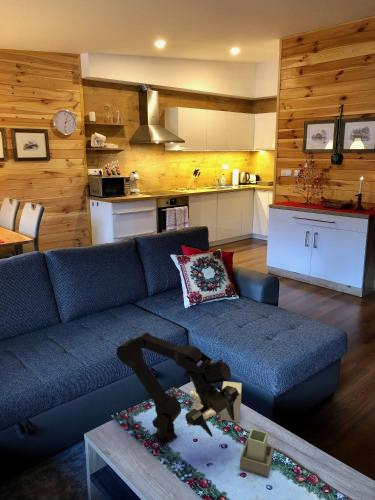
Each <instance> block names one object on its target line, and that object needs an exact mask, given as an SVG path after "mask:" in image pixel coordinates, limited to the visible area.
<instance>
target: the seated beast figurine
mask: <svg viewBox="0 0 375 500" xmlns="http://www.w3.org/2000/svg"><path fill="white" fill-rule="evenodd" d="M195 390H196V389H195V388H194V390H190V395H191V398H193V399H194V401H193V404H192V407H191V410H192V409H196V410H199V409H201V408H202V407H203V405H201V403H200V401H201V400H200V398H199V396H198V394H197V393H196V392H195ZM191 410H190V411H191ZM215 415H217V413H216V412H215V411H214V410H213V409H210V410H209V411H207V412H206V413H205V414H203V417H204V418H203V419H205V420H207V419H210V418H213V417H214V416H215ZM212 416H213V417H212ZM209 417H210V418H209Z"/></svg>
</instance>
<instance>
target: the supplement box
mask: <svg viewBox="0 0 375 500" xmlns="http://www.w3.org/2000/svg"><path fill="white" fill-rule="evenodd" d="M242 384H243V383H241V382H235V381H225V382H222V387H221V390H222V389H223V388H225V387H226V386H227V385H228V386H231V387H235V388H236V389H237V390H238V392H239V395H238V396H237V399H236V400H235V402H234V421H233V420H232V419H231V418H230V416H229V414H228V411H227V409H226V408H225V409H224V410H222V411H221V412H220V421H222V420H226V421H225V422H229V421H231V422H230V423H238V424H239V423H240V421H241V419H240V417H241V410H242V409H241V407H242V406H241V405H242V389H243V388H242V386H243V385H242Z"/></svg>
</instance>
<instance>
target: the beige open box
mask: <svg viewBox="0 0 375 500" xmlns="http://www.w3.org/2000/svg"><path fill="white" fill-rule="evenodd" d="M247 439H248V451H247V459H250V460H254V461H257V462H261V463H264V464H265V460H266V451H267V445H268V432H266V431H263V430H259V429H256V428H251V430H250V433H249V435H248V438H247Z"/></svg>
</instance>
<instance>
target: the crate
mask: <svg viewBox="0 0 375 500" xmlns="http://www.w3.org/2000/svg"><path fill="white" fill-rule="evenodd" d="M247 451H248V438H247V439H246V441H245V443H244V447H243V449H242V451H241V455H240V457H239V470H241V471H244V472H247V473H251V474H254V475H257V476H260V477H264V478H267V479H268V477H269V474H270V470H271V466H272V463H271V462H273V459H274V446H273V445H269V444H267V451H266V460H265V464H264V463H261V462H257V461H254V460H250V459H247ZM272 458H273V459H272Z"/></svg>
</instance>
